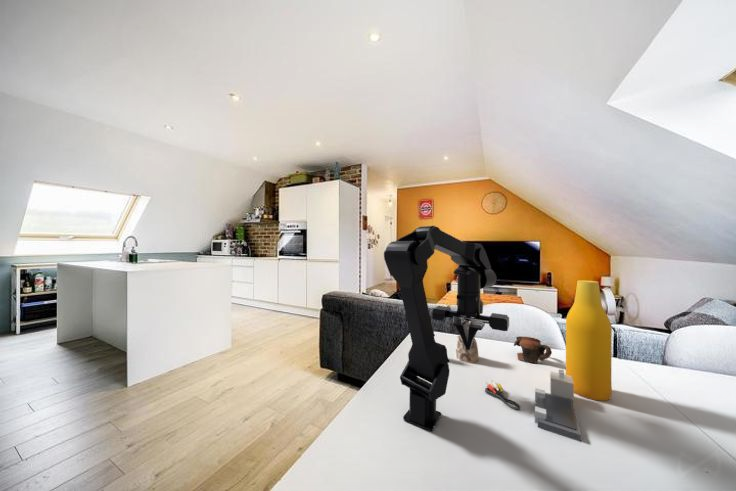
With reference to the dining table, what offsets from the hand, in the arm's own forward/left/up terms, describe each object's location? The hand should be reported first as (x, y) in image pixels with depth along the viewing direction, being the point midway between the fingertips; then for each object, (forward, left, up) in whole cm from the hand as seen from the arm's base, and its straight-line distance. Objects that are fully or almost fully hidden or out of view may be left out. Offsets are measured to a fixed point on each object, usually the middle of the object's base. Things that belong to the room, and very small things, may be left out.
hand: (468, 349), depth 68 cm
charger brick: (+9, -20, -10) cm, 25 cm away
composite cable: (0, -8, -11) cm, 13 cm away
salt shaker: (+14, +16, -11) cm, 23 cm away
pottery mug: (+32, -14, -11) cm, 37 cm away
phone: (0, -19, -10) cm, 22 cm away
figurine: (+20, +5, -11) cm, 23 cm away
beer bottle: (+17, -26, -11) cm, 33 cm away
